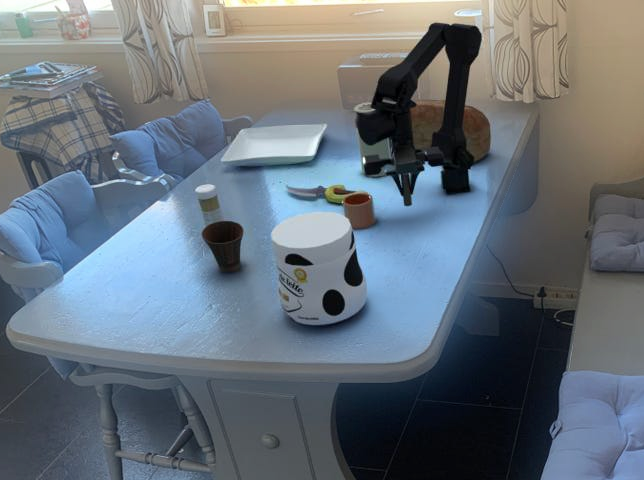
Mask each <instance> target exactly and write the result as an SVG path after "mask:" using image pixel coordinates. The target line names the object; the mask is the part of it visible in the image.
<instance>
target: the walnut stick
mask: <svg viewBox="0 0 644 480" xmlns="http://www.w3.org/2000/svg"><path fill="white" fill-rule="evenodd" d="M400 182H401V186H402V190H403V196H402V200H403V206H404V207H411V206H413V200H412V195H411V190H410V173H406V174H403V175H400Z"/></svg>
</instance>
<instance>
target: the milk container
mask: <svg viewBox="0 0 644 480" xmlns="http://www.w3.org/2000/svg"><path fill="white" fill-rule="evenodd" d="M270 239H271V246H272V252H273V258H274V262H275V266H276V269H277V273H278V285H277V286H278V287H277V291H278V293H277V294H278V299H279V302H280V306H281V308H282V309H283V312H284V314H285V315H286V316H287V317H288V318H289V319H290V320H291V321H293V322H294V323H297V324H300V325H303V326H309V327H318V328H319V327H324V326H325V327H326V326H334V325H336V324H339V323H342V322H346V321H347V320H349V319H351V318H352V317H354V316H355V315H357V314H358V313H359V312H360V311H361V310H362V309H363V307H365V306H364V305H365V303H366V301H367V295H368V286H367V279H366V277H365V274H364V272H363V269H362V268H361V265H360V263H359V259H358V252H357V243H356V240H355V234H354V229H353V228H352V227H351V224H350V222H349V219H347V218H346V217H345V215H344V214H341V213H336V212H334V211H333V212H332V211H312V212H311V211H310V212H305V213H301V214H297V215H293V216H291V217H289V218H286V219H283V220H282V221H281V222H280V223H278V224H277V225H275V226H274V227H273V229H272V231H271V233H270Z"/></svg>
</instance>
